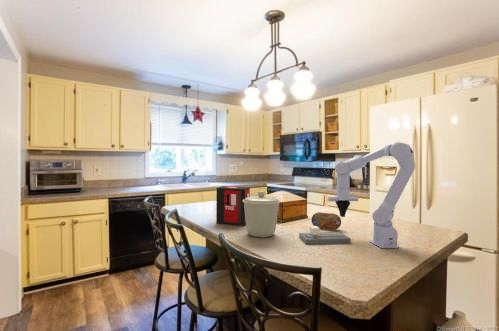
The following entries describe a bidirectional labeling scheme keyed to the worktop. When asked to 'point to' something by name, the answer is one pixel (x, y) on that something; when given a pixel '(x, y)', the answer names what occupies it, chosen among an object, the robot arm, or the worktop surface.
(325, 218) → the tin
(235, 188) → the cleaning product box
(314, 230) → the fader tab
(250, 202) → the canister
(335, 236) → the fader console
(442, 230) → the worktop surface
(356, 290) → the worktop surface
